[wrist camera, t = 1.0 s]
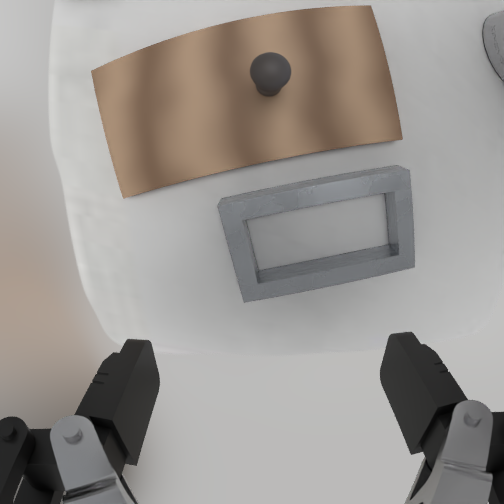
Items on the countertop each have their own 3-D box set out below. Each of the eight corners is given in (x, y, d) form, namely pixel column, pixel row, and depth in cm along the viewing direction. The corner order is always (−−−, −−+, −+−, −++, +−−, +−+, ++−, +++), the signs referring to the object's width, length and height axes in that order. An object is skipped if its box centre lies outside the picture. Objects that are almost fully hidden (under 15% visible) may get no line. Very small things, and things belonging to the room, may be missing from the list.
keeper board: (363, 12, 20) (403, -27, 12) (393, 138, 25) (447, 147, 16) (101, 73, 23) (42, 61, 15) (131, 193, 27) (81, 224, 19)
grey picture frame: (397, 165, 26) (409, 169, 23) (404, 256, 29) (414, 267, 26) (221, 198, 27) (217, 205, 25) (245, 288, 31) (244, 302, 28)
